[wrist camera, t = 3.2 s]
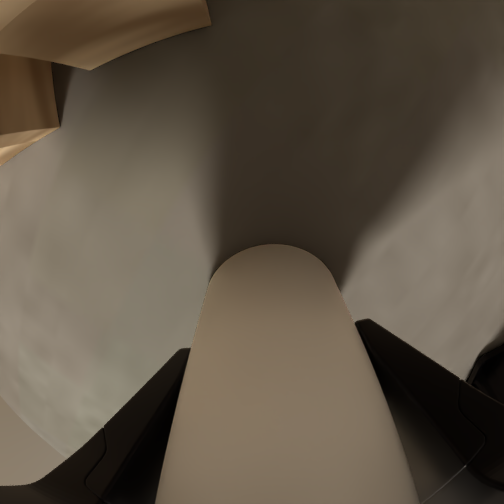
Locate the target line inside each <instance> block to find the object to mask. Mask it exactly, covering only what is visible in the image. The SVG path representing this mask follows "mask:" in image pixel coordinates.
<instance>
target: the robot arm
mask: <svg viewBox="0 0 504 504" xmlns="http://www.w3.org/2000/svg"><path fill="white" fill-rule="evenodd" d="M355 326H356V328H357V330H358V333H359V335H360V337H361V340H362V342H363V344H364V347H365V349H366V351H367V354H368V356H369V359H370V361H371V363H372V366H373V368H374V371H375V373H376V376H377V378H378V381H379V383H380V386H381V388H382V391H383V394H384V396H385V399H386V402H387V404H388V407H389V410H390V412H391V415H392V418H393V420H394V423H395V426H396V429H397V432H398V435H399V438H400V440H401V443H402V446H403V449H404V452H405V455H406V459H407V462H408V465H409V468H410V471H411V475H412V478H413V481H414V485H415V488H416V491H417V495H418V499H419V502H420V504H504V345H502V346H501V347H499V348H497V349H495V350H493V351H491V352H489V353H487V354H485V355H483V356H482V357H481V358H480V359H479V360H478V361H477V362H476V364H475V367H474V369H473V371H472V373H471V376H470V378H469V380H468V382H465V381H464V380H462V379H461V380H460V378H459V377H457V376H456V375H454V374H453V373H451V372H450V371H448V370H447V369H445V368H444V367H442V366H441V365H439V364H438V363H436V362H435V361H433V360H432V359H430V358H429V357H427V356H426V355H424V354H423V353H421V352H420V351H418V350H417V349H415V348H414V347H412V346H411V345H409V344H408V343H406V342H405V341H403V340H401V339H400V338H398V337H397V336H395V335H394V334H392V333H391V332H389V331H388V330H386V329H385V328H383V327H382V326H380V325H379V324H377V323H376V322H374V321H372V320H371V319H363V320H359V321H356V322H355ZM190 350H191V348H182V349H179V350H178V351H177V352H176V353H175V354H174V355H173V356H172V357H171V358H170V359H169V360H168V361H167V362H166V363H165V364H164V366H163V367H162V368H161V369H160V370H159V371H158V372H157V373H156V374H155V375H154V376H153V377H152V378H151V379H150V380H149V381H148V382H147V383H146V384H145V385H144V386H143V387H142V388H141V389H140V390H139V391H138V392H137V393H136V394H135V395H134V396H133V397H132V398H131V399H130V400H129V401H128V402H127V403H126V404H125V405H124V406H123V407H122V408H121V409H120V410H119V411H118V412H117V413H116V414H115V415H114V416H113V417H112V418H111V419H110V420H109V421H108V422H107V423H106V424H105V425H104V428H101V429H100V430H99V431H98V432H97V433H96V434H95V435H94V436H93V437H92V438H91V439H90V440H89V441H88V442H87V443H85V444H84V445H83V446H82V447H81V448H80V449H79V450H78V451H76V452H75V453H74V454H73V455H72V456H70V457H69V458H68V459H67V460H65V461H64V462H63V463H62V464H60V465H59V466H58V467H56V468H55V469H54V470H52V471H51V472H50V473H49V474H47V475H46V476H45V477H44V478H42V479H40V480H38V481H36V482H34V483H31V484H27V485H18V486H0V504H155V501H156V496H157V491H158V486H159V481H160V476H161V471H162V467H163V462H164V457H165V453H166V448H167V444H168V440H169V435H170V431H171V427H172V422H173V418H174V414H175V410H176V405H177V401H178V397H179V393H180V389H181V385H182V381H183V377H184V373H185V369H186V365H187V362H188V358H189V354H190Z"/></svg>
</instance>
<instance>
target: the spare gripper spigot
mask: <svg viewBox="0 0 504 504" xmlns="http://www.w3.org/2000/svg"><path fill="white" fill-rule="evenodd" d="M155 504H420V502H419V499H418V495H417V491H416V488H415V485H414V481H413V478H412V475H411V471H410V468H409V465H408V462H407V459H406V455H405V452H404V449H403V446H402V443H401V440H400V438H399V435H398V432H397V429H396V426H395V423H394V420H393V418H392V415H391V412H390V410H389V407H388V404H387V402H386V399H385V396H384V394H383V391H382V388H381V386H380V383H379V381H378V378H377V376H376V373H375V371H374V368H373V366H372V363H371V361H370V359H369V356H368V354H367V351H366V349H365V347H364V344H363V342H362V340H361V337H360V335H359V333H358V330H357V328H356V326H355V324H354V321H353V319H352V317H351V315H350V313H349V310H348V308H347V306H346V304H345V302H344V299H343V297H342V295H341V293H340V291H339V289H338V287H337V284H336V282H335V280H334V278H333V276H332V274H331V272H330V271H329V269H328V268H327V267H326V266H325V264H324V263H323V262H322V261H321V260H319V259H318V258H317V257H315V256H314V255H312V254H311V253H309V252H307V251H305V250H302V249H300V248H297V247H293V246H289V245H282V244H266V245H259V246H255V247H251V248H248V249H245V250H243V251H241V252H239V253H237V254H235V255H233V256H232V257H230V258H229V259H228V260H226V261H225V262H224V263H223V264H222V265H221V266H220V267H219V268H218V269H217V271H216V272H215V273H214V275H213V277H212V278H211V280H210V283H209V285H208V288H207V292H206V295H205V299H204V302H203V306H202V309H201V313H200V317H199V320H198V324H197V328H196V331H195V335H194V339H193V343H192V346H191V350H190V354H189V358H188V362H187V365H186V369H185V373H184V377H183V381H182V385H181V389H180V393H179V397H178V401H177V405H176V410H175V414H174V418H173V422H172V427H171V431H170V435H169V440H168V444H167V448H166V453H165V457H164V462H163V467H162V471H161V476H160V481H159V486H158V491H157V496H156V501H155Z"/></svg>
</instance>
